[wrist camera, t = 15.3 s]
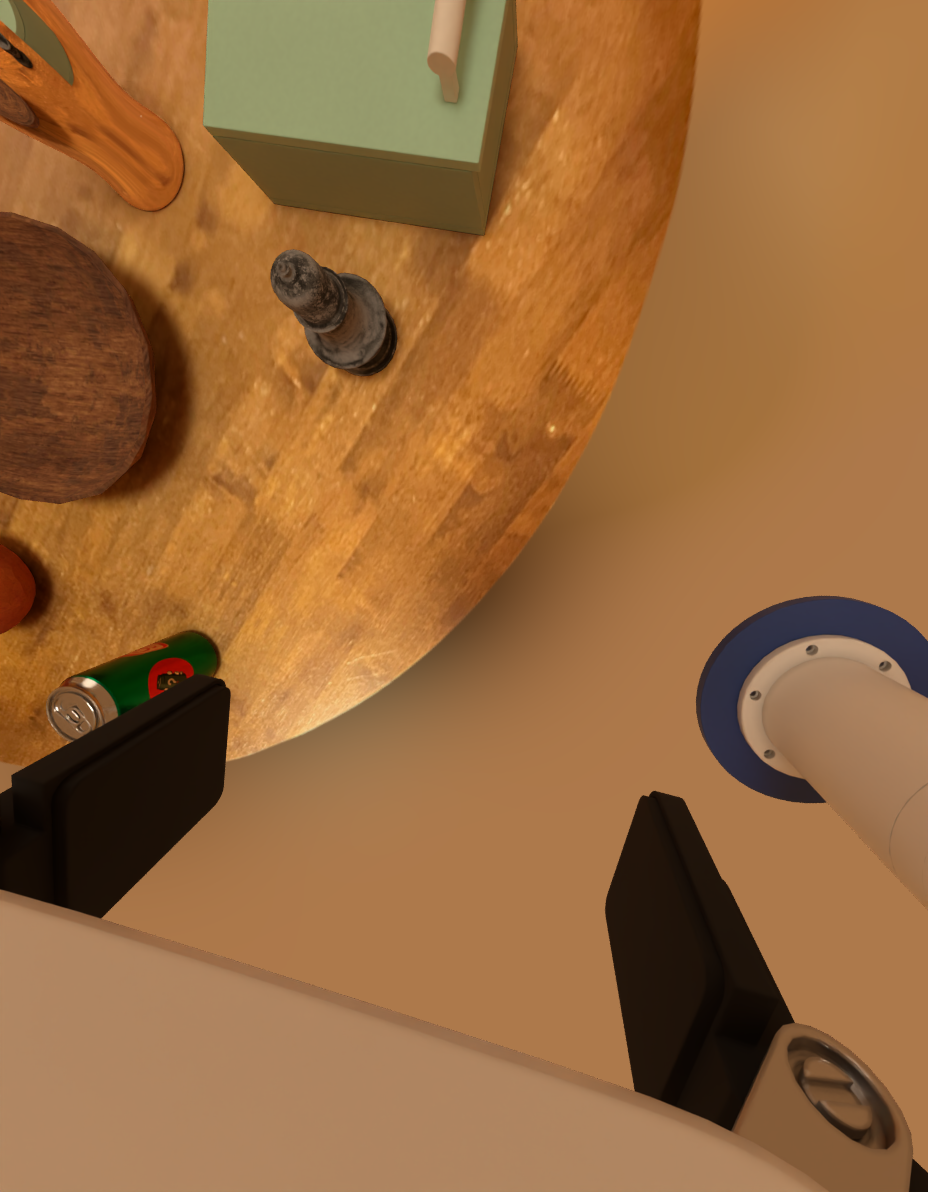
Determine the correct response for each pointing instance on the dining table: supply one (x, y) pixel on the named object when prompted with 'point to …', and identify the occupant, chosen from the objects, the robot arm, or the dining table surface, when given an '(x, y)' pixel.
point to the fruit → (14, 589)
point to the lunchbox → (385, 172)
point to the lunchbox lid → (356, 76)
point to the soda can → (126, 683)
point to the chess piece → (336, 313)
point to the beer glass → (82, 106)
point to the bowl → (67, 368)
